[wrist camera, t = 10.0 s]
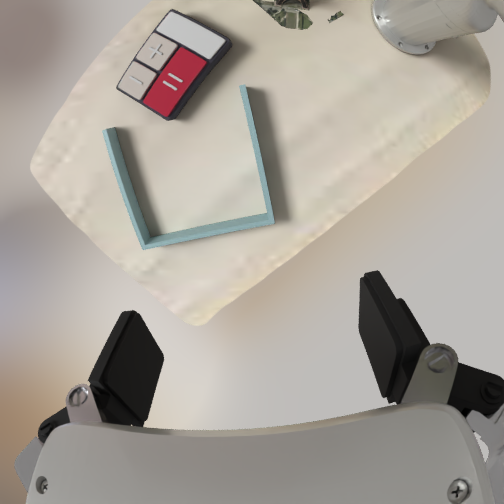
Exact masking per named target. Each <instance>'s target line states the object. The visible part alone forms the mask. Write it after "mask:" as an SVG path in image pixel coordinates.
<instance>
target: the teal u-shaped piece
mask: <svg viewBox="0 0 504 504" xmlns="http://www.w3.org/2000/svg"><path fill="white" fill-rule="evenodd" d="M239 87H240V91H241V95H242V100H243V104H244V108H245V112H246V117H247V121H248V126H249V130H250V134H251V139H252V143H253V148H254V152H255V157H256V162H257V166H258V171H259V175H260V180H261V185H262V190H263V194H264V199H265V204H266V209H267V213H265V214H259V215H254V216H249V217H244V218H239V219H234V220H229V221H224V222H219V223H214V224H209V225H205V226H200V227H195V228H191V229H186V230H181V231H177V232H172V233H168V234H163V235H159V236H155V237H150V234H149V232H148V229H147V226H146V224H145V221H144V218H143V215H142V213H141V210H140V207H139V204H138V201H137V198H136V195H135V192H134V189H133V186H132V183H131V180H130V177H129V174H128V171H127V168H126V164H125V161H124V158H123V154H122V151H121V148H120V144H119V141H118V137H117V133H116V130H115V127H114V128H109V129H105V130H103V131H102V132H103V136H104V139H105V143H106V146H107V150H108V153H109V156H110V160H111V163H112V166H113V170H114V173H115V176H116V179H117V182H118V185H119V188H120V191H121V194H122V197H123V200H124V202H125V205H126V208H127V211H128V213H129V216H130V219H131V221H132V224H133V227H134V229H135V232H136V235H137V237H138V240H139V242H140V245H141V247H142V249H143V250H146V249H150V248H155V247H160V246H164V245H169V244H174V243H179V242H183V241H188V240H193V239H198V238H203V237H208V236H213V235H218V234H223V233H228V232H233V231H238V230H244V229H249V228H254V227H259V226H265V225H270V224H275V221H274V215H273V210H272V205H271V200H270V195H269V190H268V186H267V181H266V176H265V171H264V166H263V162H262V157H261V152H260V147H259V143H258V138H257V134H256V129H255V125H254V120H253V116H252V111H251V107H250V103H249V98H248V94H247V90H246V86H245V85H240V86H239Z"/></svg>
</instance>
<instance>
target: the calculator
mask: <svg viewBox="0 0 504 504" xmlns="http://www.w3.org/2000/svg"><path fill="white" fill-rule="evenodd" d="M231 47H232V43H231V41H230V39H229V38H227V37H225V36H224V35H222V34H220V33H218V32H217V31H215V30H213V29H211V28H210V27H208V26H206V25H204V24H202V23H200V22H198V21H196V20H194V19H192V18H190V17H188V16H186V15H184V14H182V13H180V12H178V11H176V10H174V9H171V10H170V11H169V12H168V13H167V14H166V15H165V17H164V18H163V19H162V20H161V22H160V23H159V24H158V25H157V27H156V28H155V29H154V31H153V32H152V33H151V35H150V36H149V37H148V39H147V40H146V41H145V43H144V44H143V46H142V47H141V49H140V50H139V51H138V53H137V54H136V56H135V57H134V59H133V60H132V62H131V63H130V65H129V67H128V68H127V70H126V71H125V73H124V75H123V76H122V78H121V80H120V81H119V83H118V85H117V87H116V88H117V90H119V91H121V92H122V93H124V94H126V95H127V96H129V97H130V98H132V99H134V100H135V101H137V102H139V103H140V104H142V105H143V106H145V107H147V108H148V109H150V110H151V111H153V112H154V113H156V114H158V115H159V116H161V117H162V118H164V119H165V120H167V121H169V120H173V119H175V118H176V117H177V116H178V114H179V113H180V111H181V110H182V109H183V107H184V106H185V104H186V103H187V102H188V100H189V99H190V98H191V96H192V95H193V93H194V92H195V91H196V89H197V88H198V87H199V85H200V84H201V83H202V81H203V80H204V79H205V78H206V76H207V75H208V74H209V72H210V71H211V70H212V69H213V67H214V66H215V65H216V64H217V63H218V62H219V61H220V60H221V59H222V57H223V56H224V55H225V54H226V53H227V52H228V50H229V49H230V48H231Z"/></svg>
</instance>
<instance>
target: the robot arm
mask: <svg viewBox="0 0 504 504" xmlns="http://www.w3.org/2000/svg"><path fill="white" fill-rule="evenodd" d="M371 10H372V17H373V21H374V23H375V25H376V27H377V29H378V30H379V32H380V33H381V34H382V36H383V37H384V38H385V39H386V40H387V41H388V42H389V43H390V44H392V45H393V46H394V47H396V48H397V49H399V50H401V51H403V52H406V53H409V54H424V53H427V52H429V51H430V50H431V49H432V48H433V47H434V46H435V43H436V41H439V40H443V39H448V38H457V37H458V36H463V35H468V34H474V33H480V32H484V31H486V30H488V29H490V28H491V27H492V26H493V24H494V22H495V20H496V18H497V15H499V16H500V17H501V19H502V20H503V22H504V0H374V1H373V3H372V8H371ZM377 18H378V19H377ZM359 304H360V305H359V333H360V336H361V339H362V341H363V344H364V346H365V349H366V352H367V355H368V357H369V360H370V363H371V366H372V369H373V372H374V375H375V378H376V381H377V383H378V386H379V389H380V392H381V395H382V397H383V398H385V397H387V400H388V403H393V402H396V404H397V405H392V406H387V407H382V408H378V409H373V410H368V411H364V412H360V413H355V414H351V415H346V416H341V417H336V418H331V419H325V420H319V421H313V422H307V423H301V424H293V425H286V426H277V427H267V428H255V429H239V430H174V429H158V428H146V427H143V425H144V422H145V421H146V420H147V419H148V415H149V411H150V408H151V404H152V400H153V397H154V393H155V390H156V386H157V382H158V379H159V375H160V372H161V369H162V365H163V362H164V355H163V353H162V351H161V350H160V348H159V346H158V345H157V343H156V341H155V340H154V338H153V336H152V334H151V333H150V331H149V329H148V327H147V326H146V324H145V322H144V321H143V319H142V317H141V315H140V314H139V313H137V312H136V311H134V310H132V311H124V312H122V313H121V315H120V317H119V319H118V321H117V322H116V324H115V326H114V328H113V330H112V332H111V334H110V336H109V338H108V340H107V342H106V344H105V346H104V348H103V350H102V352H101V354H100V356H99V358H98V360H97V362H96V364H95V366H94V368H93V370H92V372H91V375H90V377H89V379H88V381H89V382H90V383H91V384H90V386H88V385H86V384H79V385H77V386H75V387H74V388H72V389H71V390H70V392H69V393H68V395H67V397H66V405H67V406H66V407H65V408H63V409H62V410H60V411H59V412H57V413H56V414H54V415H52V416H51V417H49V418H48V419H46V420H45V421H44V422H43V423H42V424H41V425H40V427H39V430H38V437H39V438H37V437H35V438H34V439H33V440H32V441H31V442H30V444H28V445H27V447H26V448H25V449H24V450H23V451H22V452H21V453H20V455H18V457H17V458H16V460H15V470H16V472H17V474H18V476H19V478H20V480H21V481H22V484H23V485H24V487H25V489H26V491H27V492H28V496H27V500H26V504H504V380H503V379H502V378H501V377H500V376H498V375H495V374H492V373H489V372H486V371H483V370H480V369H477V368H473V367H470V366H468V365H465V364H462V363H459V362H458V357H457V354H456V352H455V351H454V350H453V349H452V348H451V347H450V346H448V345H445V344H440V343H436V344H432V345H430V343H429V341H428V340H427V338H426V336H425V334H424V332H423V331H422V329H421V327H420V326H419V324H418V322H417V321H416V319H415V317H414V316H413V314H412V312H411V311H410V309H409V307H408V306H407V304H406V303H405V301H404V300H403V299H402V298H399V299H396V297H395V296H394V294H393V292H392V291H391V289H390V287H389V286H388V284H387V283H386V281H385V280H384V278H383V277H382V275H381V273H380V272H379V271H378V270H377V271H372V272H368V273H365V274H364V277H362V278H360V302H359ZM131 425H132V426H131ZM136 426H137V427H136ZM473 432H476V433H477V434H479V435H480V436H481V438H480V439H481V440H482V441H483V442H485V444H486V445H487V446H488V449H489V456H488V459H487V461H486V462H485V461H484V458H483V455H482V452H481V449H480V447H479V444H478V442H477V440H476V437H475V435H474V433H473Z"/></svg>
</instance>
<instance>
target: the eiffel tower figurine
mask: <svg viewBox="0 0 504 504" xmlns="http://www.w3.org/2000/svg"><path fill="white" fill-rule="evenodd" d="M253 1H254V2H255V3H257V4H258V5H259V6H260V7H261V8H263V9H264V10H265V11H266V12H267V13H268V14H269V15H270V16H271V17H272V18H274V19H275V20H276V21H277V22H278V23H279V24H280V25H281V26H284V27H286V28H291V29H300V30H302V29H307V28H308V27H309V26H310V25H312V23H313V22H312V21H311V20H310V19H309V17H308V16H307V15H306V14H304V13H302V12H301V11H299V10H298V9H303V10H309V0H274V2H268V1H262V0H253ZM342 15H343V14H342V12H341V11H339V12H338V13H336V14H335V15H334V16H331V19H330V20H328V21H329V23H330V22H332V21H333V20H335V19H337V18H338V17H340V16H342Z"/></svg>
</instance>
